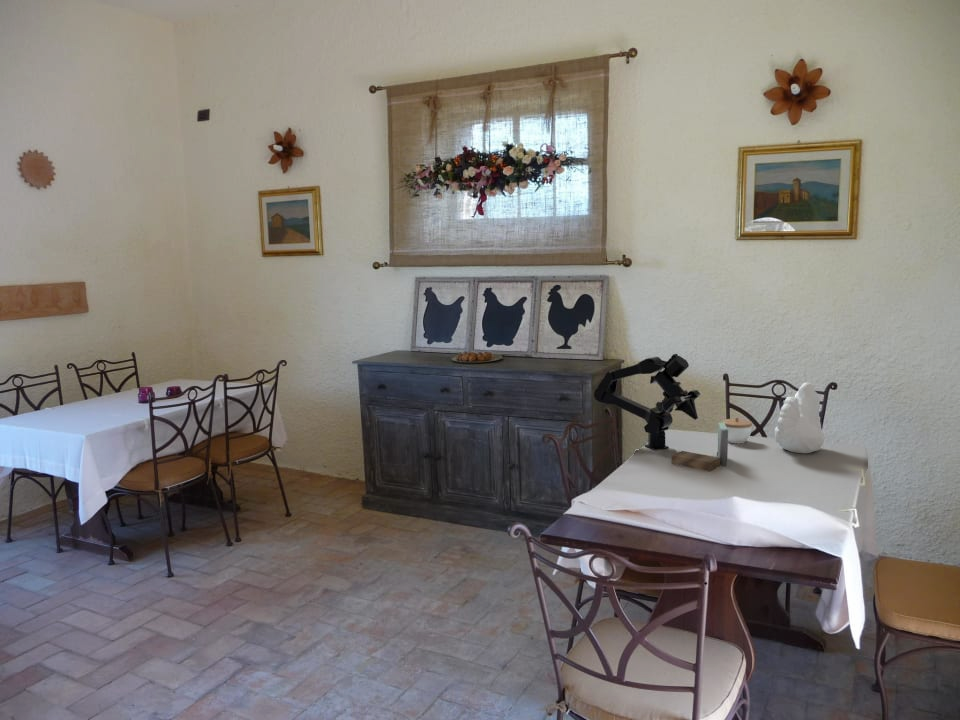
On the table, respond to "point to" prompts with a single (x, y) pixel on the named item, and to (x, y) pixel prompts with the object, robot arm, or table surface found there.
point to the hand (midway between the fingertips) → (696, 418)
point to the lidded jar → (738, 430)
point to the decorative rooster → (800, 422)
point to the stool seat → (695, 460)
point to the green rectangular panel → (722, 443)
